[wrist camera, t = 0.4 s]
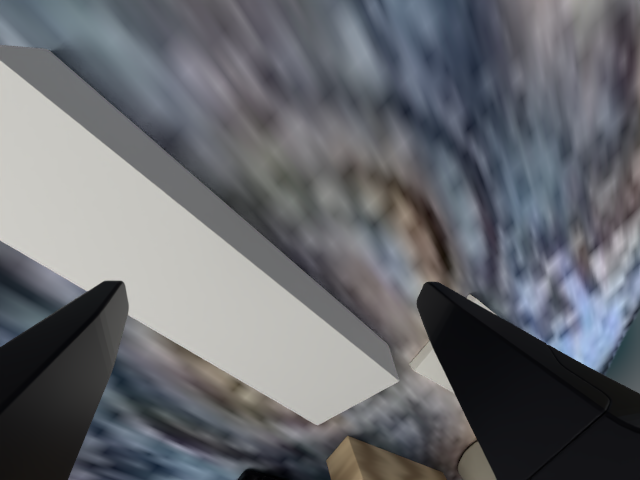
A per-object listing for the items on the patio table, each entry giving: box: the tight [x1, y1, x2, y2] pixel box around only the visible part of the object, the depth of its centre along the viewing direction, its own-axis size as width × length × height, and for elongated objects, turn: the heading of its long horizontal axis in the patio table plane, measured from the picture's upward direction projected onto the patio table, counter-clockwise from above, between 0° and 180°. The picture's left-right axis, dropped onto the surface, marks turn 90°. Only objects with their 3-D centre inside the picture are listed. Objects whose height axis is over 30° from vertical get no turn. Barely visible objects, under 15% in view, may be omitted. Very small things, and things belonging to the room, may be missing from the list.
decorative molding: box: [0, 45, 399, 425], centre depth 24 cm, size 34×5×10 cm
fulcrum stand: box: [409, 294, 496, 394], centre depth 32 cm, size 10×12×4 cm
